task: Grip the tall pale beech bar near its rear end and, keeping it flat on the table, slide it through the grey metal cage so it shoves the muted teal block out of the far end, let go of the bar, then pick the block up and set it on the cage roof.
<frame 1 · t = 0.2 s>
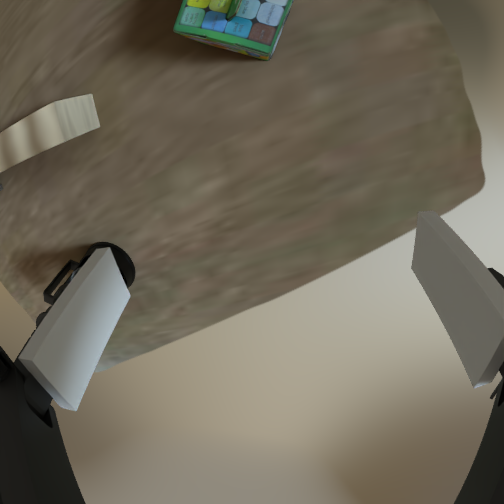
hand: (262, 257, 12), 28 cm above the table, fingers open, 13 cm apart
bar: (41, 134, 36), on the table
french press: (107, 264, 48), on the table
chalk box: (245, 20, 29), on the table
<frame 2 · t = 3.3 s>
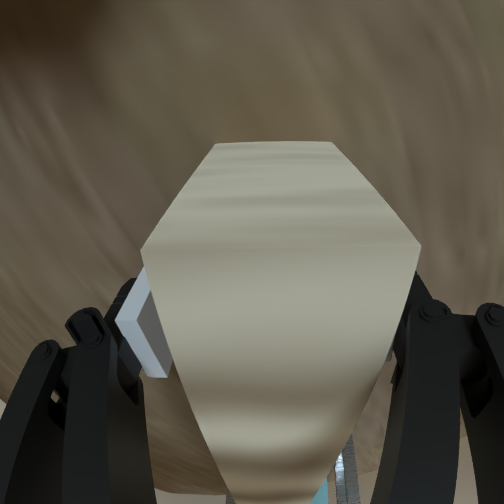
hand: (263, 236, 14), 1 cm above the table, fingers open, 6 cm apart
cage: (293, 445, 28), on the table
bar: (275, 328, 18), on the table, touching gripper
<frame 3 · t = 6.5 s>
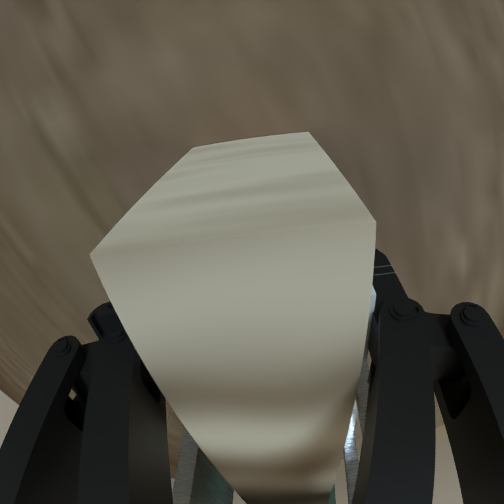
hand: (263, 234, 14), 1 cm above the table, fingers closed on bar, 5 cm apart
cage: (285, 393, 22), on the table
bar: (278, 329, 18), on the table, touching block, gripper
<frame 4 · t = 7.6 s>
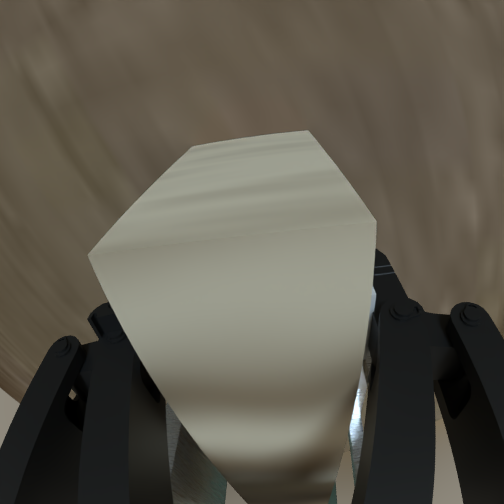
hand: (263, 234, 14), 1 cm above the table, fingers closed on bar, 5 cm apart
cage: (283, 371, 20), on the table
bar: (278, 328, 18), on the table, touching gripper
when the fingers open (1 cm above the table, at t = 9.2 s): bar stays where it is, on the table.
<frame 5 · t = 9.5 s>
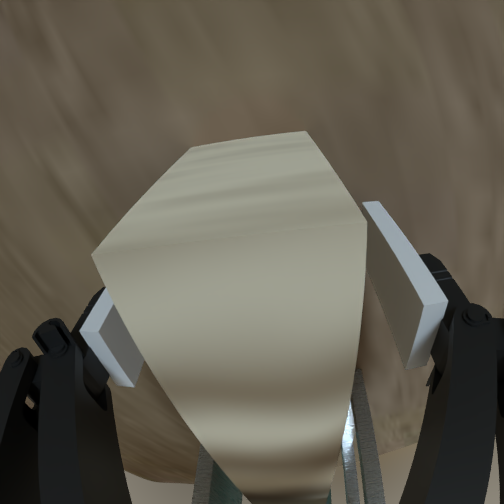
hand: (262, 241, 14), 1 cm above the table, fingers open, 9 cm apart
cage: (289, 410, 23), on the table
bar: (277, 325, 18), on the table
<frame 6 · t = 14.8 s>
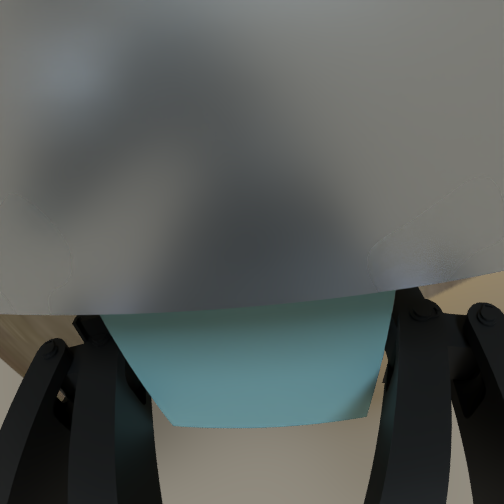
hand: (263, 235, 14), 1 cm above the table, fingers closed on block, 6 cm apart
cage: (223, 2, 9), on the table
block: (260, 208, 14), on the table, touching gripper
when the fingers open (14 cm above the table, at t = 18.7 s): block drops 1 cm, resting on cage.
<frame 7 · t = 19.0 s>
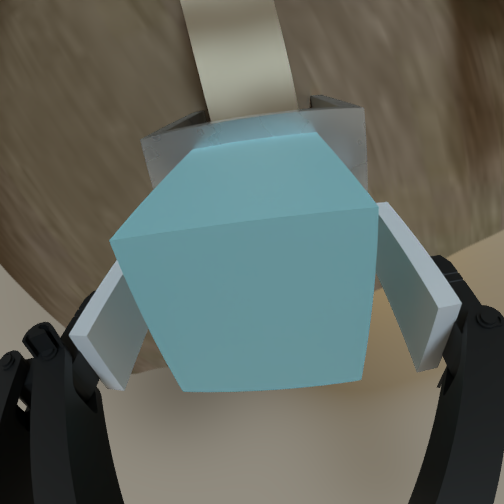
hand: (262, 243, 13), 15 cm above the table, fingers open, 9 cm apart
cage: (265, 157, 26), on the table
bar: (244, 44, 21), on the table
block: (262, 197, 16), point 12 cm above the table, touching cage
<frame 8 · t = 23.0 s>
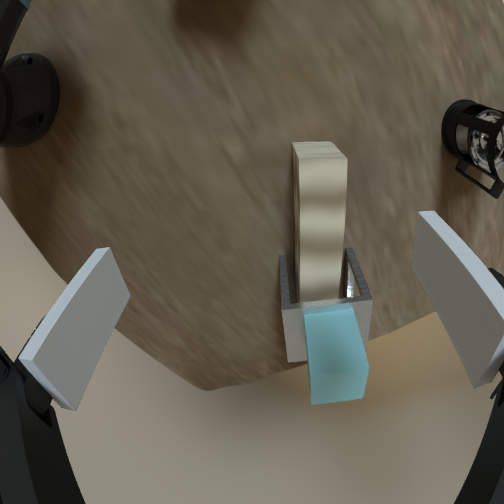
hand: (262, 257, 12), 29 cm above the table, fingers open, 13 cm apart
cage: (317, 278, 48), on the table
bar: (312, 218, 43), on the table
french press: (464, 132, 34), on the table
block: (328, 329, 37), point 12 cm above the table, touching cage
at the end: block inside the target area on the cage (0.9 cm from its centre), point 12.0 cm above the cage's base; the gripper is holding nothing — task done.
